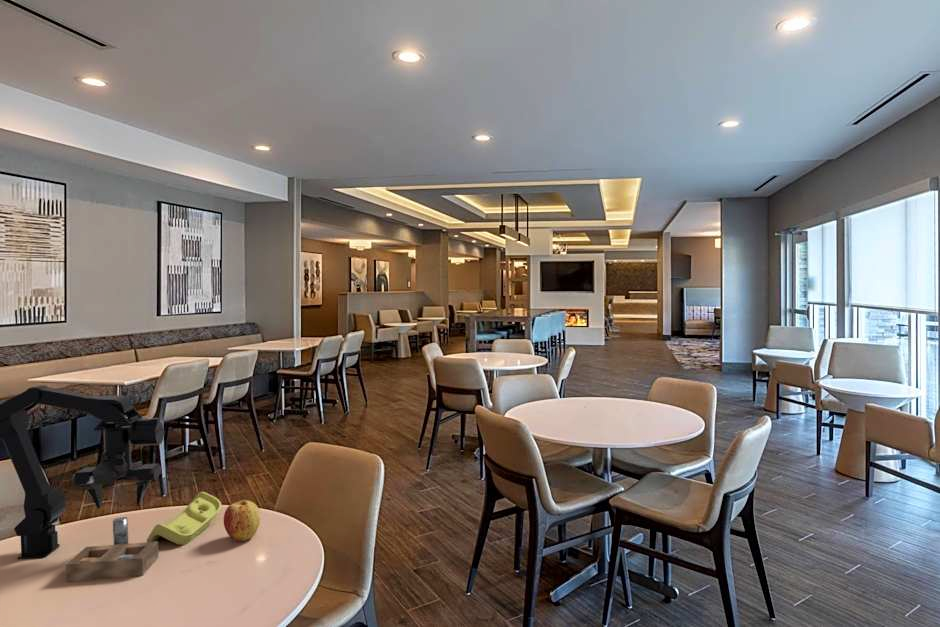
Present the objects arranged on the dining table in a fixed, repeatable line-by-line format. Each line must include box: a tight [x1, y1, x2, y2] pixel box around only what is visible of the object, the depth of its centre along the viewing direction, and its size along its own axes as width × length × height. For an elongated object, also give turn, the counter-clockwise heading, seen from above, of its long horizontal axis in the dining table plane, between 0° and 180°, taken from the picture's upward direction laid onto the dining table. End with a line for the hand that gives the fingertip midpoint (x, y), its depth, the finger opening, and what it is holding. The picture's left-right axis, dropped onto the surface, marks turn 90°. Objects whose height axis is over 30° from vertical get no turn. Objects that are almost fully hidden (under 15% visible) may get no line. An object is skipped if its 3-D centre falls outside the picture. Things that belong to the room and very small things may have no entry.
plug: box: [112, 516, 129, 545], centre depth 143 cm, size 3×3×7 cm
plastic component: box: [146, 491, 222, 546], centre depth 153 cm, size 20×7×10 cm
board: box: [64, 540, 159, 583], centre depth 131 cm, size 16×9×4 cm, turn 99°
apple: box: [223, 499, 261, 542], centre depth 147 cm, size 9×9×10 cm
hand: (119, 506), depth 143 cm, fingers open, 9 cm apart
